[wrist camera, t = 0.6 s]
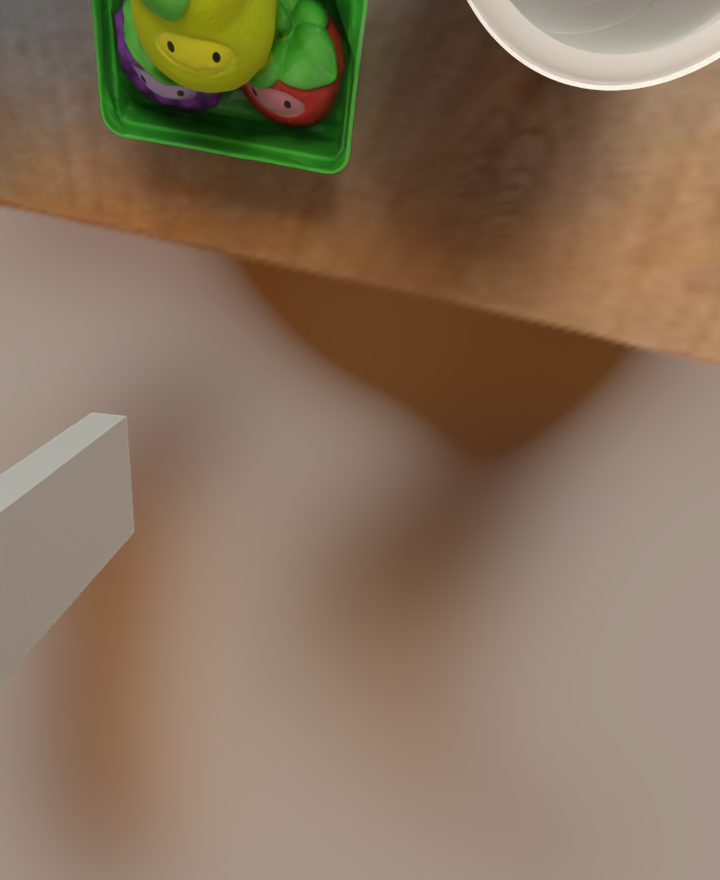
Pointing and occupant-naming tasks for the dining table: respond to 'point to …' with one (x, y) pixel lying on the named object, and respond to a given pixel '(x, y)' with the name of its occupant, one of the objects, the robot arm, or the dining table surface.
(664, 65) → the jar
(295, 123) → the fruit basket
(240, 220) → the dining table surface
